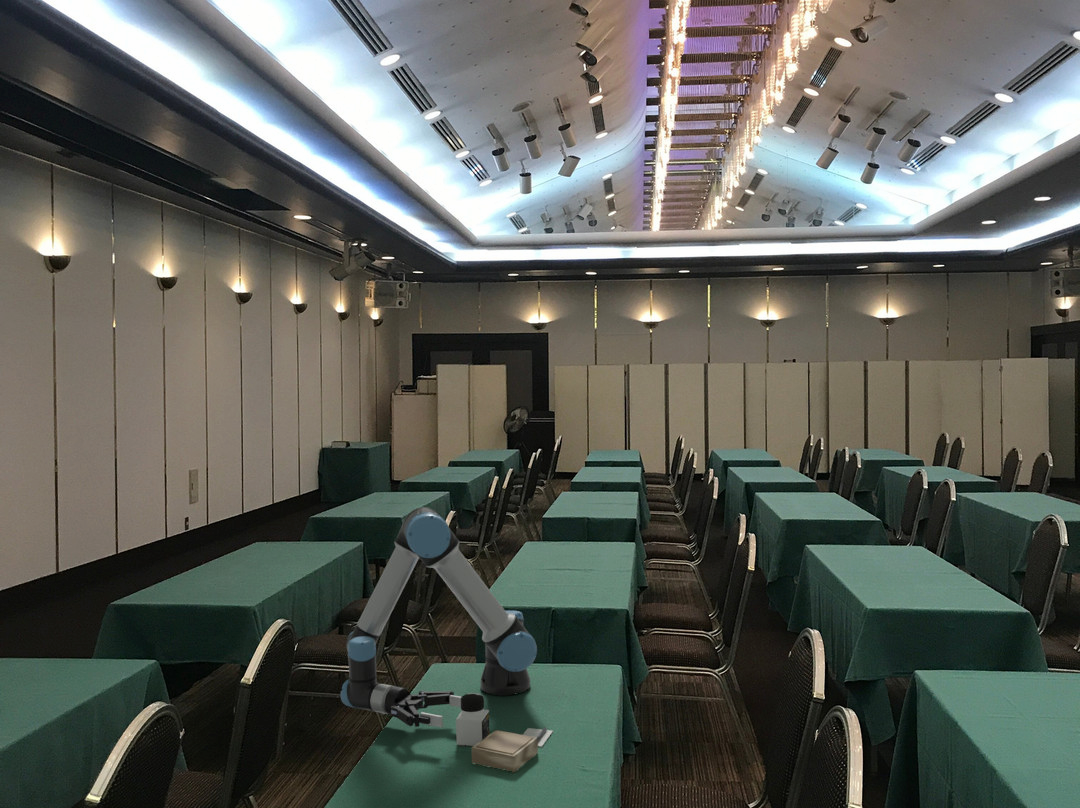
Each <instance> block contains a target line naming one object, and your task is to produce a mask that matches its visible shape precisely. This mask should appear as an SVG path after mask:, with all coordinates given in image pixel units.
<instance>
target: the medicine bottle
mask: <svg viewBox="0 0 1080 808" xmlns="http://www.w3.org/2000/svg"><path fill="white" fill-rule="evenodd" d="M460 697H461V708H460V713H459V714H458V716H457V717H456V718H455V729H456V730H455V733H456V735H455V736H456V745H457V746H465V745H466V747H473V746H475V745H476V744H477V743H479V742H480V741H482V740H483V739H484V738H486V737H487V736H488V735H490V734H491V733H490V710H489V709H485V697H484V695H482V694H481V693H477V692H469V693H465V694H463V695H462V696H460Z"/></svg>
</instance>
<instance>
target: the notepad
mask: <svg viewBox="0 0 1080 808" xmlns="http://www.w3.org/2000/svg"><path fill="white" fill-rule="evenodd" d="M553 733H554V730H549V729H548V728H547V727H543V728H542V729H541V728H529V727H527V728H526V730H525V731H524V732H523V733H522V735H525V736H530V737H536V738H537V743H538V746H539V747H538V748H543V747H544V746H545V744H546V743H547V742H548V740H549V739H550V737H551V736H552V735H553ZM550 735H551V736H550ZM548 738H549V739H548ZM547 739H548V740H547ZM545 742H546V743H545ZM544 743H545V744H544ZM543 745H544V746H543ZM542 746H543V747H542Z"/></svg>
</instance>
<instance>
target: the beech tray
mask: <svg viewBox="0 0 1080 808" xmlns="http://www.w3.org/2000/svg"><path fill="white" fill-rule="evenodd" d="M538 750H539V747H538V743H537V738H536V737H530V736H525V735H523V734H518V733H514V732H510V731H509V732H508V731H504V730H497V729H495V730H494V731H493V732H491V733H490V735H488V736H487V737H486V738H484V739H483V740H482V741H480V742H479V743H477V744H476V745H475V746H471V764H472V763H475V764H474V765H476V764H480V765H485V766H490V767H494V768H500V769H505V770H508V771H512V772H511V773H513V772H515V771H516V770H517V769H518V770H520V769H521V768H522V767H523V766H524V765H523V764H525V763H526V762H527V761H528V760H529V761H530V759H531V758H532V757H533V758H534V757H536V756H537V755H538V754H539V753H538ZM537 753H538V754H537ZM536 754H537V755H536ZM533 758H532V759H533ZM532 759H531V760H532ZM529 761H528V762H529ZM528 762H527V763H528ZM527 763H526V764H527ZM526 764H525V765H526ZM480 765H479V766H480ZM522 765H523V766H522ZM485 766H484V767H485ZM521 766H522V767H521ZM490 767H489V768H490ZM520 767H521V768H520ZM494 768H493V769H494ZM519 768H520V769H519ZM518 770H517V771H518ZM508 771H507V772H508ZM517 771H516V772H517ZM516 772H515V773H516Z"/></svg>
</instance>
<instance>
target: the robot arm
mask: <svg viewBox="0 0 1080 808" xmlns="http://www.w3.org/2000/svg"><path fill="white" fill-rule="evenodd" d="M393 542H394V546H395V548H394V549H393V552H392V553H391V556H390V558H389V560H388V562H387V564H386V566H385V567H384V569H383V572H382V574H381V576H380V578H379V579H378V582H377V583H376V585H375V587H374V590H373V592H372V593H371V595H370V597H369V599H368V602H367V603H366V605H365V608H364V610H363V612H362V613H361V615H360V618H359V619H358V621H357V623H356V626H355V627H354V629H353V631H351V632H350V633H349V634H348V637H347V638H346V639H347V640H346V645H345V646H346V650H347V659H348V673H349V676H348V677H349V678H348V679H347V680H346V681H344V683H343V684H342V687H341V689H342V690H341V691H340V700H341V702H342V703H343V704H344V705H345V706H347V707H350V708H354V709H355V710H365V711H370V712H375V713H381V714H382V715H385V714H386V715H389V716H391V717H393V718H396V719H398V720H400V721H401V722H403V723H404V724H406V725H407V726H409V727H412V726H414V727H415V728H416V727H417V728H419V727H420V724H422V725H426V726H427V725H428V726H431V727H432V726H433V727H437V728H443V727H444V719H443V718H444V717H443V715H440V714H439V715H438V714H433V713H429V712H428V713H427V712H424V711H421V712H419V710H421V709H427V708H428V707H432V706H441V705H442V706H443V705H449V706H451V707H456V708H460V709H461V697H462V696H459V695H455V693H454V692H455V691H454V690H453V691H452V690H447V691H446V690H444V691H443V690H441V691H439V690H437V691H434V690H433V691H427V690H426V691H425V690H419V691H418V694H417V693H416V694H415V693H413V694H411V693H410V691H409V690H408V689H407V688H406V687H401V686H395V685H390V684H385V683H379V682H378V681H377V646H376V644H377V642H378V640H379V638H380V637H381V634H382V632H383V630H384V628H385V626H386V624H387V622H388V621H389V618H390V616H391V614H392V612H393V610H394V609H395V606H396V605H397V602H398V601H399V598H400V596H401V594H402V592H403V590H404V589H405V587H406V584H407V583H408V580H409V579H410V577H411V575H412V573H413V571H414V568H415V567H416V565H417V563H418V561H419V560H420V561H421V562H422V563H423V564H424V566H425V567H426V568H430V569H431V568H433V569H434V570H435V571H436V573H437V574H438V575H439V576H440V578H441V579H442V580H443V582H445V584H446V586H447V587H448V588H449V589H450V590H451V592H452V593H453V594H454V596H455V597H456V599H457V600H458V601H459V602H460V604H461V605H462V606H463V608H464V609H465V610H466V612H468V614H469V616H470V617H471V619H472V620H473V621H474V622H475V623H476V625H477V626H478V627H479V628H480V630H481V631H482V637H481V640H482V641H483V642H484V645H485V646H484V647H485V664H484V668H483V671H482V675H481V678H480V690H481V692H483V691H484V693H485V692H486V694H488V693H489V694H488V695H492V694H493V696H510V695H509V694H515V693H519V694H521V693H520V692H522V693H525V692H526V690H527V689H528V690H529V689H530V688H531V677H530V675H529V673H528V668H529V667H530V666H532V664H533V663H534V661H535V659H536V658H537V654H538V652H537V651H538V648H537V644H536V639H535V638H534V636H532V635H531V634H530V632H529V631H528V630H527V629H526V628H525V626H524V620H525V619H524V616H523V612H522V611H518V610H505V609H504V607H503V606H502V605H501V604H500V602H499V601H498V600H497V597H495V596H494V594H493V592H491V590H490V589H489V588H488V586H487V585H486V584H485V581H483V580H482V578H481V576H480V575H479V574H478V572H476V570H475V569H474V567H473V566H472V565H471V564H470V562H469V561H468V559H466V557H465V556H464V554H463V553H462V551H460V548H459V547H460V540H459V539H458V538H457V536H456V535H455V533H454V532H453V531H452V530H451V528H450V527H449V525H448V523H447V521H446V520H445V519H444V518H443V517H441V516H440V514H439V513H438V512H437V511H436V510H434V509H432V508H431V507H426V506H425V507H418V508H415V509H413V510H411V511H410V512H409V513H407V515H406V516H405V518H404V520H403V522H402V525H401V527H400V529H399V531H398V534H397V536H396V538H395V540H394V541H393ZM528 690H527V691H528ZM524 691H525V692H524ZM494 694H495V695H494ZM515 695H516V694H515Z"/></svg>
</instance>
